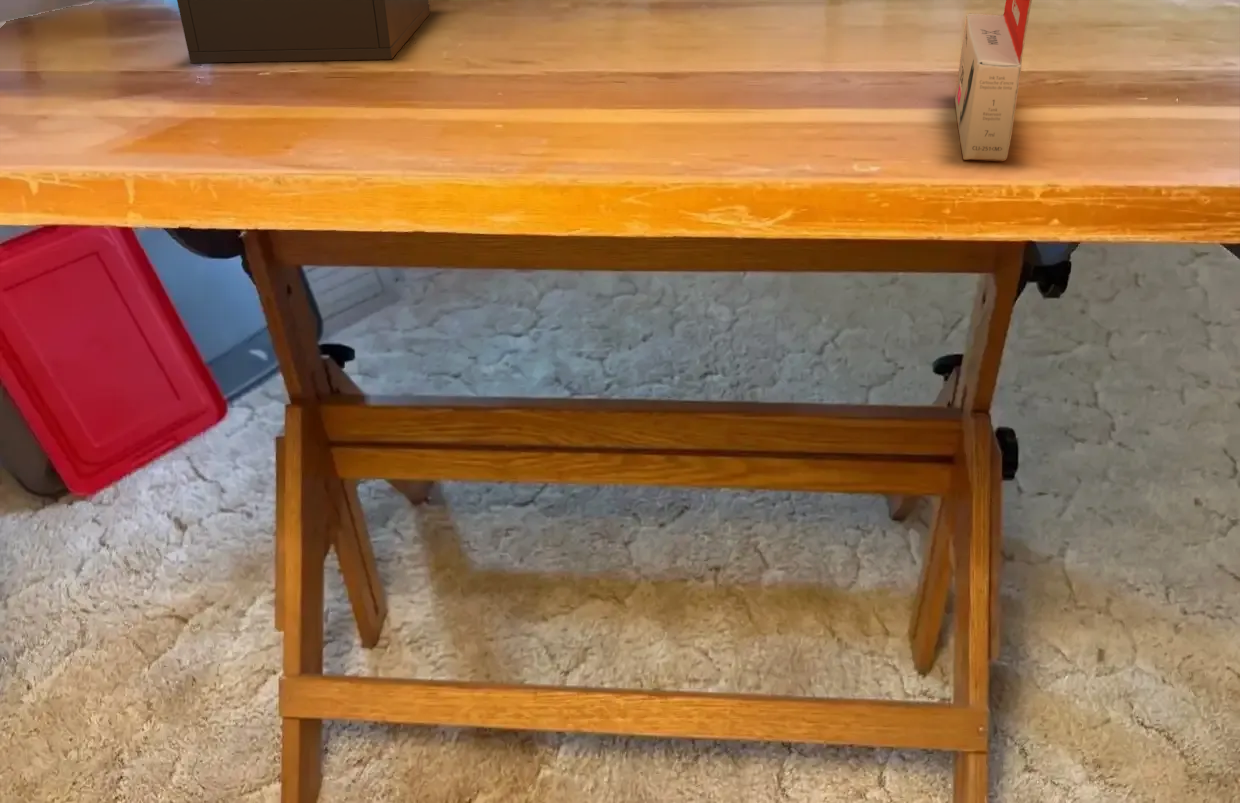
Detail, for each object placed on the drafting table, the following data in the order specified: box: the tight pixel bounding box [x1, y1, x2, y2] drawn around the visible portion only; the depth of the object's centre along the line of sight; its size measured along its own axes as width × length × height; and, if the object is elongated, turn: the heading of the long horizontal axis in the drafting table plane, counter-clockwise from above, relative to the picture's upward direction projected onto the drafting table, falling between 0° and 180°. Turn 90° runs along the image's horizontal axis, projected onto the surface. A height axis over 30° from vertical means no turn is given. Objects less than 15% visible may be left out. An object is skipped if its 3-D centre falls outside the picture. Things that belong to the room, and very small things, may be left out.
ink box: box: [954, 0, 1033, 162], centre depth 61 cm, size 2×11×10 cm, turn 168°
